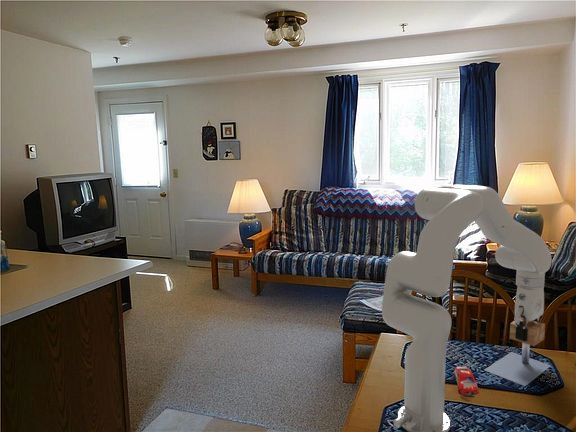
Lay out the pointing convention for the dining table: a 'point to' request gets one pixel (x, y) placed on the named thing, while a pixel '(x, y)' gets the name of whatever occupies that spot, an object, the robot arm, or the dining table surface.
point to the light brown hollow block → (530, 332)
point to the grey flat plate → (517, 368)
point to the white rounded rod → (525, 353)
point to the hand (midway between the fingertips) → (526, 335)
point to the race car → (465, 381)
